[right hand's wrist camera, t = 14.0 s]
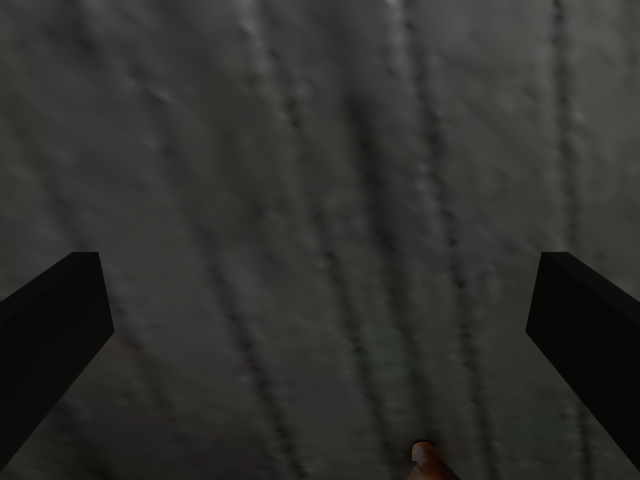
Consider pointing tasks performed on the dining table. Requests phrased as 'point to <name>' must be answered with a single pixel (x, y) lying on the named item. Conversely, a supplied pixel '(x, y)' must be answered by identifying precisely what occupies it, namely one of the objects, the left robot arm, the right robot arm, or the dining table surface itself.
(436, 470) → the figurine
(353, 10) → the dining table surface
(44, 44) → the dining table surface
